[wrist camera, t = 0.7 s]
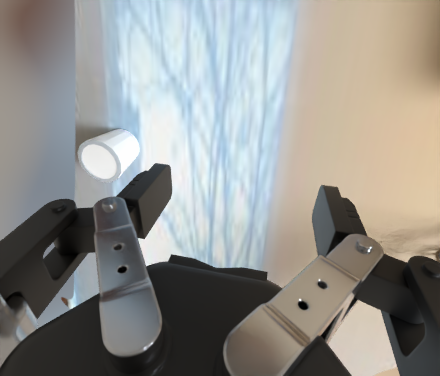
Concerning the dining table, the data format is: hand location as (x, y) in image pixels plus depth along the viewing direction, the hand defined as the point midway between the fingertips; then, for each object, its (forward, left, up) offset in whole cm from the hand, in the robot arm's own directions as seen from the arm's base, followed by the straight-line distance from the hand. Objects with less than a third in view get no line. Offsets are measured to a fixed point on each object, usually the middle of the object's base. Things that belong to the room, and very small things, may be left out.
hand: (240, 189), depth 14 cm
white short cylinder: (+10, -22, -25) cm, 35 cm away
